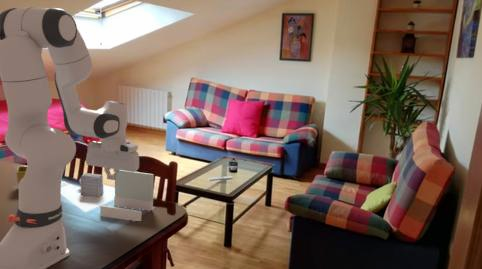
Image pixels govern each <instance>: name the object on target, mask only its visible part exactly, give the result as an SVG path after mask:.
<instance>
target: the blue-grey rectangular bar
mask: <svg viewBox="0 0 482 269" xmlns="http://www.w3.org/2000/svg"><path fill="white" fill-rule="evenodd" d="M116 207H117V208H124V209H131V210H137V211H142V210H139V209H132V208H125V207H118V206H116Z"/></svg>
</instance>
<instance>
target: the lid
mask: <svg viewBox="0 0 482 269" xmlns="http://www.w3.org/2000/svg"><path fill="white" fill-rule="evenodd" d="M154 178H155V177H154V174H153V173H146V172H138V171H134V172H131V171H124V170H119V172H118V174H117V175H116V180H114V197H115V196H116V197H123V198H130V199H137V200H144V201H150V202H153V203H154Z"/></svg>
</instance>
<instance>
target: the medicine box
mask: <svg viewBox="0 0 482 269" xmlns="http://www.w3.org/2000/svg"><path fill="white" fill-rule="evenodd" d="M103 178H104V177H103V174H98V173H90V172H89V173H88V172H86V173H83V174H82V175H80V179H81V185H80V195H83V196H91V197H100V196H101V195H102V194H103V193H104V192H103V187H104V186H103V183H104V180H103Z"/></svg>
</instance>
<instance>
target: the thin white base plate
mask: <svg viewBox="0 0 482 269" xmlns="http://www.w3.org/2000/svg"><path fill="white" fill-rule="evenodd" d="M113 200H114V201H113V202H114V203H113V206H109V205H103V204H102V205H100V209H99V214H100V217H105V218H110V219H117V220H123V219H124V221H129V220H132V221H131V222H135V221H141V222H142V214H143V213H142V211H144V210H152V209H153V210H154V208H153V206H154V201H153V202H150V201H144V200H137V199H130V198H123V197H116V196H115V195H114V197H113ZM117 206H119V207H126V208H133V209H144V210H141V211H137V210H131V209H124V208H117Z"/></svg>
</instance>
